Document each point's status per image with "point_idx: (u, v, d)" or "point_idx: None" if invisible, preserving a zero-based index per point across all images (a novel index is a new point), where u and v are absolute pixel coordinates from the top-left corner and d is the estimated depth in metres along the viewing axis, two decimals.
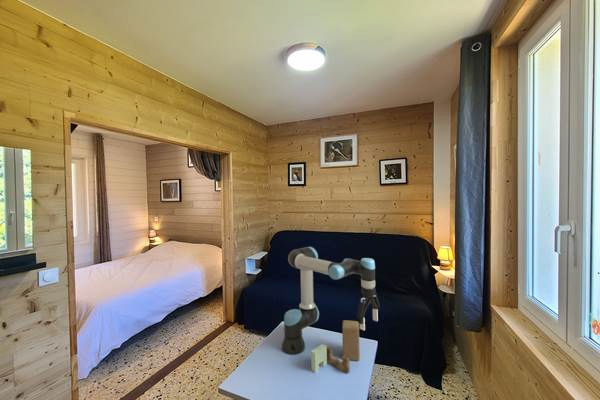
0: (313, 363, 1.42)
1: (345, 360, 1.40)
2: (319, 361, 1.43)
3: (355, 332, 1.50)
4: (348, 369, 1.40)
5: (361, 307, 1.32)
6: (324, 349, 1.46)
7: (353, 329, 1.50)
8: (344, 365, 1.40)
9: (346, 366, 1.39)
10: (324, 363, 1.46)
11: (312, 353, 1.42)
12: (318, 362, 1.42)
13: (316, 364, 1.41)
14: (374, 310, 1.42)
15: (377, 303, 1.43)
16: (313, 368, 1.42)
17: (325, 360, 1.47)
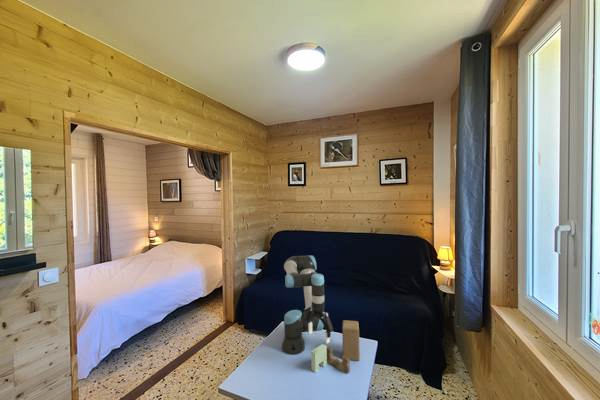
0: (313, 363, 1.42)
1: (345, 360, 1.40)
2: (319, 361, 1.43)
3: (355, 332, 1.50)
4: (348, 369, 1.40)
5: None
6: (324, 349, 1.46)
7: (353, 329, 1.50)
8: (344, 365, 1.40)
9: (346, 366, 1.39)
10: (324, 363, 1.46)
11: (312, 353, 1.42)
12: (318, 362, 1.42)
13: (316, 364, 1.41)
14: None
15: (327, 326, 1.38)
16: (313, 368, 1.42)
17: (325, 360, 1.47)
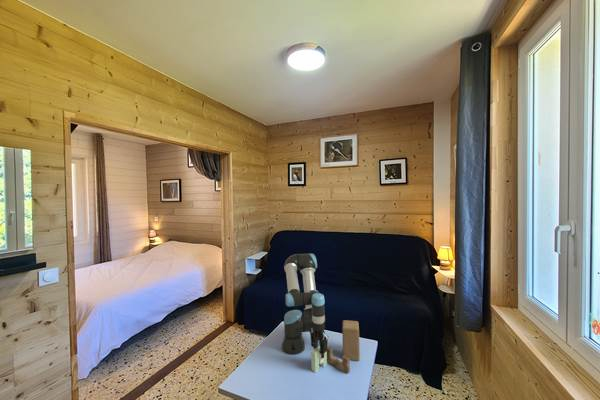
0: (313, 363, 1.42)
1: (345, 360, 1.40)
2: (319, 361, 1.43)
3: (355, 332, 1.50)
4: (348, 369, 1.40)
5: None
6: None
7: (353, 329, 1.50)
8: (344, 365, 1.40)
9: (346, 366, 1.39)
10: (324, 363, 1.46)
11: (312, 353, 1.42)
12: (318, 362, 1.42)
13: (316, 364, 1.41)
14: None
15: (323, 347, 1.41)
16: (313, 368, 1.42)
17: (325, 360, 1.47)
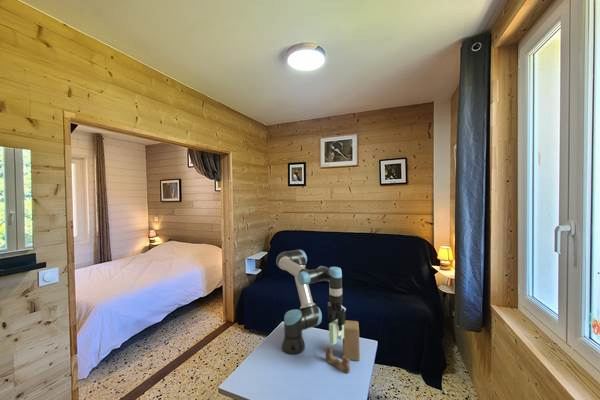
0: (331, 335, 1.42)
1: (345, 360, 1.40)
2: None
3: (355, 332, 1.50)
4: (348, 369, 1.40)
5: None
6: None
7: (353, 329, 1.50)
8: (344, 365, 1.40)
9: (346, 366, 1.39)
10: (341, 336, 1.46)
11: (330, 325, 1.42)
12: (336, 334, 1.42)
13: (334, 336, 1.41)
14: None
15: (341, 319, 1.42)
16: (331, 340, 1.42)
17: (342, 333, 1.47)
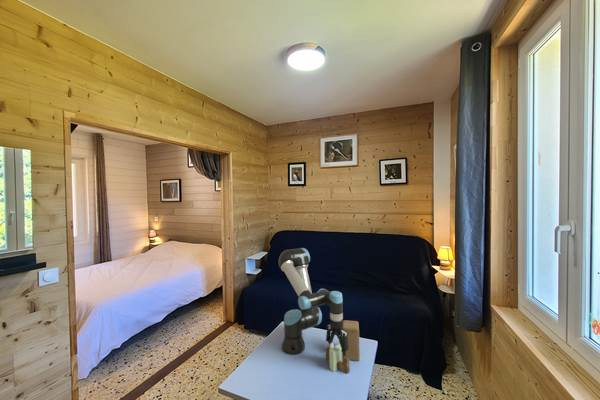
0: (331, 362, 1.42)
1: (345, 360, 1.40)
2: (337, 360, 1.43)
3: (355, 332, 1.50)
4: (348, 369, 1.40)
5: None
6: None
7: (353, 329, 1.50)
8: (344, 365, 1.40)
9: (346, 366, 1.39)
10: None
11: (330, 352, 1.42)
12: (336, 361, 1.43)
13: (334, 363, 1.42)
14: None
15: (344, 345, 1.41)
16: (331, 367, 1.42)
17: None
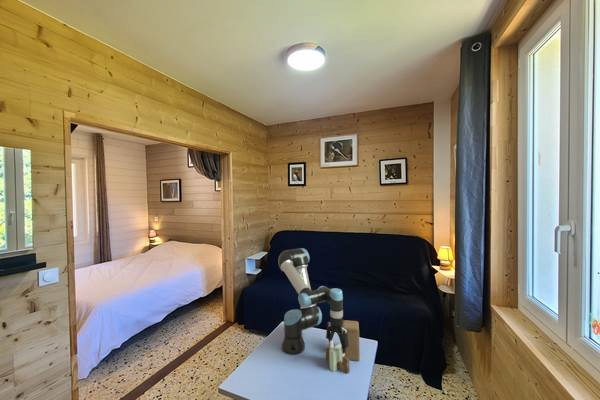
0: (331, 362, 1.42)
1: (345, 360, 1.40)
2: (337, 360, 1.43)
3: (355, 332, 1.50)
4: (348, 369, 1.40)
5: None
6: None
7: (353, 329, 1.50)
8: (344, 365, 1.40)
9: (346, 366, 1.39)
10: None
11: (330, 352, 1.42)
12: (336, 361, 1.43)
13: (334, 363, 1.42)
14: None
15: (344, 342, 1.40)
16: (331, 367, 1.42)
17: None
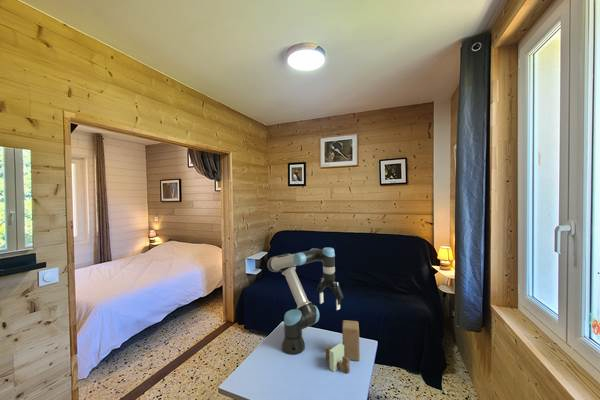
0: (331, 362, 1.42)
1: (345, 360, 1.40)
2: (337, 360, 1.43)
3: (355, 332, 1.50)
4: (348, 369, 1.40)
5: None
6: (342, 348, 1.47)
7: (353, 329, 1.50)
8: (344, 365, 1.40)
9: (346, 366, 1.39)
10: None
11: (330, 352, 1.42)
12: (336, 361, 1.43)
13: (334, 363, 1.42)
14: None
15: (338, 294, 1.50)
16: (331, 367, 1.42)
17: None
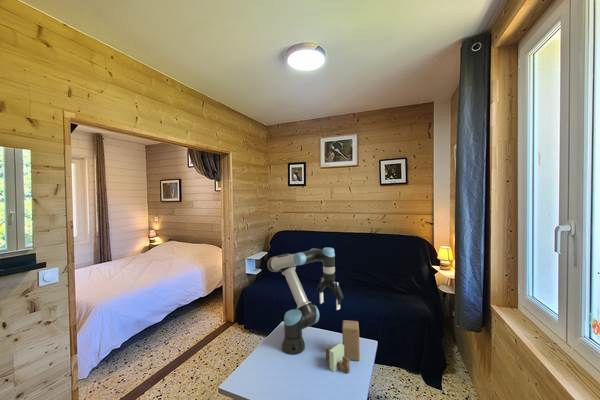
0: (331, 362, 1.42)
1: (345, 360, 1.40)
2: (337, 360, 1.43)
3: (355, 332, 1.50)
4: (348, 369, 1.40)
5: None
6: (342, 348, 1.47)
7: (353, 329, 1.50)
8: (344, 365, 1.40)
9: (346, 366, 1.39)
10: None
11: (330, 352, 1.42)
12: (336, 361, 1.43)
13: (334, 363, 1.42)
14: None
15: (338, 294, 1.50)
16: (331, 367, 1.42)
17: None
